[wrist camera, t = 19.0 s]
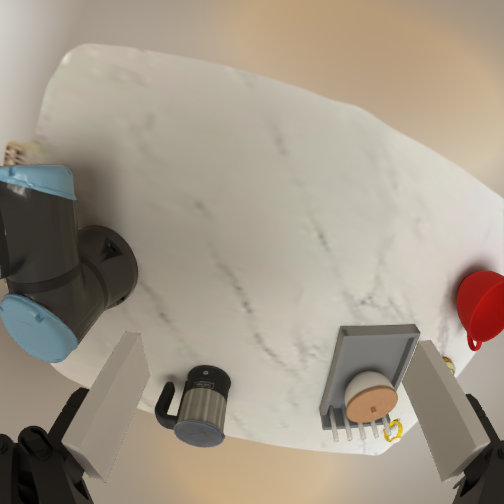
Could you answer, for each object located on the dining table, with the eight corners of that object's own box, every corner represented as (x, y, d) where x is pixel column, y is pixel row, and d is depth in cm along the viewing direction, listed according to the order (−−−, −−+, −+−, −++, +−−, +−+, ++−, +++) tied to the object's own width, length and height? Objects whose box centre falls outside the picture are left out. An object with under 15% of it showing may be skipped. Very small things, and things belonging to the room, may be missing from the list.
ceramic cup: (434, 334, 53) (454, 364, 44) (452, 260, 47) (480, 284, 38) (477, 325, 52) (499, 351, 43) (496, 257, 46) (525, 277, 37)
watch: (387, 429, 66) (391, 446, 61) (380, 428, 66) (384, 446, 60) (401, 418, 64) (406, 435, 58) (394, 417, 63) (399, 434, 58)
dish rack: (319, 408, 62) (325, 446, 51) (340, 326, 53) (353, 366, 43) (382, 403, 61) (394, 438, 51) (414, 324, 52) (437, 358, 42)
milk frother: (222, 361, 57) (212, 418, 43) (247, 408, 62) (243, 461, 49) (161, 370, 59) (141, 422, 45) (191, 415, 64) (179, 464, 51)
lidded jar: (396, 372, 56) (410, 402, 47) (363, 402, 59) (372, 433, 51) (364, 355, 54) (376, 389, 45) (329, 388, 58) (336, 422, 49)
